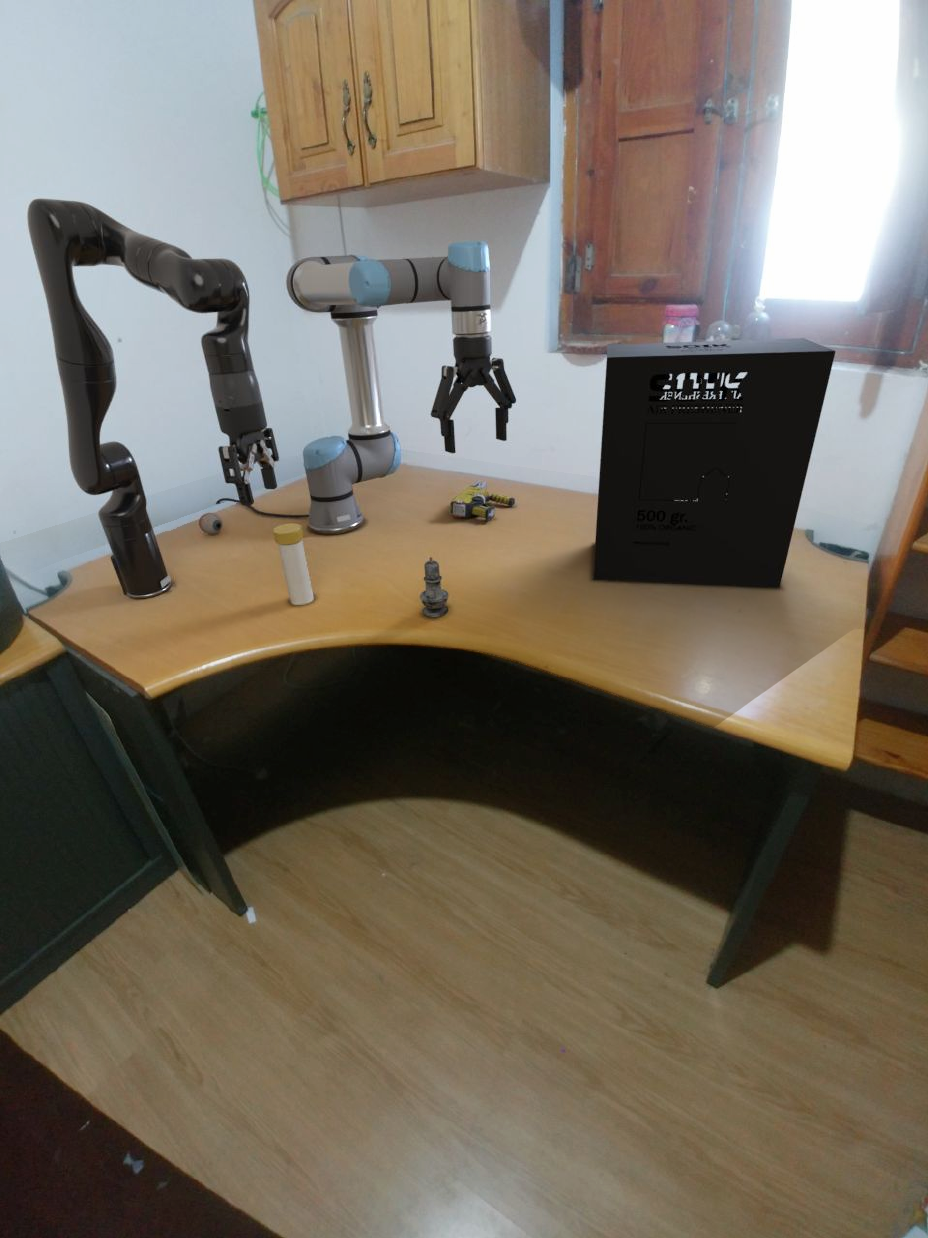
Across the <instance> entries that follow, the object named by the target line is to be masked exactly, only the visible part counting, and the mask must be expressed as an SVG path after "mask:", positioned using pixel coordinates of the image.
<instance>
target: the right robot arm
mask: <svg viewBox="0 0 928 1238" xmlns="http://www.w3.org/2000/svg"><path fill="white" fill-rule="evenodd" d="M490 263H491V262H490V252H489V245H488V244H487V242H485V241H484V240H466V241H455V242H451V243H450V244H449V245H448V247H447V256H431V257H430V256H427V257H413V258H411V257H410V258H391V259H390V258H386V259H374V258H370V257H369V256H367V255H358V254H349V255H328V256H326V255H325V256H310V257H305V258H302V259H300V260H298V261H296V262H295V263H293V265H291V267H290V268H289V269H288V272H287V275H286V281H285V282H286V283H285V284H286V285H285V286H286V290H287V293H288V296H289V297H290V299H291V300H292V303H294V304H295V305H296V306H298V307H299V308H300V309H302V310H304V311H306V312H310V313H318V314H319V313H320V314H321V313H330V320H331V321H332V322H333V323H334V324H335V325H336V326H337V327H338V332H339V333H338V334H339V339H340V347H341V355H342V361H343V369H344V375H345V382H346V383H345V384H346V389H347V396H348V404H349V410H350V418H351V425H350V426H349V428H348V430H347V436H348V439H345V437H343V436H341V435H332V436H324V437H321V438H318V439H315V440H312V441H311V442H309V443H308V444H306V445H305V446H304V448H303V450H302V457H303V459H302V460H303V467H304V471H305V476H306V481H307V486H308V492H309V498H310V507H309V513H308V514H284V513H283V514H282V513H271V512H265V511H260V510H257V509H256V508H255V507H254V506H252V505H245V506H246V507H248V508H249V509H251V511H253V512H254V513H255V514H258V515H262V516H267V517H268V516H269V517H277V518H308V521H307V524H308V528H309V529H308V530H310V531H311V532H312V533H314V534H317V535H323V536H324V535H325V536H327V535H329V536H331V535H339V534H340V535H341V534H345V533H350V532H353V531H355V530H357V529H359V528H361V527H362V526H363V525H364V523H365V519H364V514H363V512H362V510H361V508H360V505H359V504H358V501H357V500H356V498H355V495H354V489H353V485H354V484H355V485H356V484H359V483H363V482H368V481H371V480H375V479H381V478H385V477H387V476H390V475H392V474H394V473H396V472H397V470H398V469H399V467H400V465H401V462H402V446H401V443H400V441H399V437H398V436H397V435H396V434H395V432H394V431H391V426H390V425H388V423H386V422H385V420H384V419H385V418H384V410H383V402H382V393H381V385H380V377H379V368H378V367H379V366H378V358H377V349H376V341H375V331H374V324H375V322H376V320H377V319H378V317H379V314H378V309H379V308H381V307H385V306H394V305H403V304H405V305H406V304H417V303H419V304H420V303H427V302H428V303H429V302H444V301H448V302H449V301H450V311H451V313H450V314H451V315H450V316H451V334H453V335H454V337H453V339H452V350H453V358H454V359H455V363H454V366H452V365H442V366H441V373H440V374H441V375H440V376H441V377H440V381H439V384H438V388H437V390H436V395H435V398H434V401H433V404H432V407H431V411H430V416H431V418H435V419H438V421H439V426H440V435H441V437H443V441H444V442H443V443H444V452H446V453H450V454H456V433H455V420H454V419H451V418H452V416H453V414H454V413H455V410H456V409H457V406H458V404H459V402H460V401H461V399H462V397H463V396H464V393H465V392H466V391H468V389H469V388H474V387H477V386H478V387H482V386H483V387H484V389H485V390H486V391H487V392H488V394H489V396H491V398H492V399H493V401H494V402H495V403H496V405H497V406H498V407H495V408H494V410H495V411H494V413H495V414H494V415H495V439H496V440H499V441H502V442H507V441H508V438H507V435H508V433H507V424H509V410H510V409H512V407H513V404H516V403H517V398H516V394H515V393H514V390H513V388H512V385H511V383H510V380H509V378H508V375H507V373H506V370H505V363H504V362H505V361H504V359H503V358H499V357H493V358H491V356H492V354H493V346H492V344H493V343H492V340H493V339H492V336H491V335H489V333H491V332H492V315H491V314H492V312H491V311H492V309H491V264H490ZM491 370H492V374H493V376H494V378H493V376H492V375H491ZM455 377H456V378H455ZM454 378H455V380H454ZM495 381H496V383H497V384H496V383H495ZM223 501H225V502H226V501H229V502H232V503H233V502H234V503H238V504H241V503H240V500H239V499H234V498H230V497H229V498H228V497H223V498H219V499H218V500H216V501H215V505H218V504H220V503H221V502H223Z"/></svg>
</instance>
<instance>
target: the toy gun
mask: <svg viewBox="0 0 928 1238" xmlns="http://www.w3.org/2000/svg"><path fill="white" fill-rule="evenodd" d="M486 487H487V482H486V481H485V480H483V481H482V482H481V480H477V481H476V482H474V483H473V484H472V485H469V486H468V487H467V488H466V489H465V490H463V491H462V492H461V493H460V494H459V495H457V496H456V497H455V498H454V499H453V500H451V502H450V503H449V504H450V505H449V513H450V515H451V516H454V518H458V519H459V518H460V519H461V518H471V517H474V516H477V517H481V518H485V521H487V522H488V521H490V520H491V519H493V518H494V517H495V511H496V509H495V508H496V507H495V506H494V505H492V504H491V505H490V506H489V505H488V504H487V503H489V502H490V501H491V502H492V503H499V504H502V505H507V506H508V507H513V506H514V505H515V503H516V499H515V498H514V497H511V496H509V497H508V496H506V495H505V496H504V495H501V494H497V493H491V495H490V494H489V492H488V491H487V489H485V488H486Z"/></svg>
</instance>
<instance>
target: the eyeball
mask: <svg viewBox="0 0 928 1238" xmlns="http://www.w3.org/2000/svg"><path fill="white" fill-rule="evenodd" d="M198 526H199V528H200V530H201V531H202V532H203V533H204V534H206V535H212V536H214V535H216V534H218V533H220V532H221V531H222V529H223V520H222V518H221V517H220V515H218V514H217V513H214V512H206V513H203V515H201V516H200V517H199V520H198Z"/></svg>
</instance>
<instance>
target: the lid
mask: <svg viewBox="0 0 928 1238" xmlns="http://www.w3.org/2000/svg"><path fill="white" fill-rule="evenodd" d="M272 533H273V537H274V542H275V543H276V544H277V545H278V544H281V545H289V544H294V543H297V542H299V541H301V540H302V541H303V539H304V532H303V528H302V525H301V524H299V523H284V524H280V525H278V526H276V527H275V528H273V532H272Z"/></svg>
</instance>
